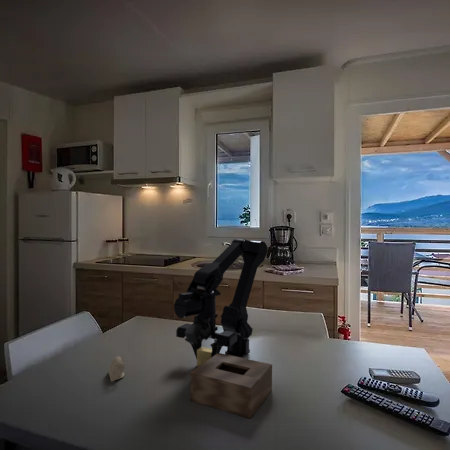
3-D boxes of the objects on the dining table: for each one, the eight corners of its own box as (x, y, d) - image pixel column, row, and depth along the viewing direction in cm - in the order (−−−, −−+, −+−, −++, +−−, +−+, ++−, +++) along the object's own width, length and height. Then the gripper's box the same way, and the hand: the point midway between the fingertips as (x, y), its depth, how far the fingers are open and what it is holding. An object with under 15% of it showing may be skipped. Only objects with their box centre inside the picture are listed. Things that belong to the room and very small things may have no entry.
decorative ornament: (122, 369, 100) (122, 351, 100) (126, 381, 92) (126, 362, 92) (108, 371, 98) (108, 353, 98) (111, 384, 90) (111, 364, 90)
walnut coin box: (190, 400, 82) (190, 372, 82) (218, 377, 95) (218, 352, 95) (250, 418, 75) (250, 387, 75) (271, 391, 87) (272, 364, 87)
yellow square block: (196, 365, 103) (196, 349, 103) (201, 362, 105) (201, 346, 105) (210, 369, 100) (211, 352, 100) (215, 366, 102) (215, 349, 102)
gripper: (165, 313, 100) (164, 366, 100) (220, 322, 91) (220, 380, 91) (186, 305, 109) (186, 353, 110) (238, 313, 101) (237, 364, 101)
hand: (205, 362), depth 102 cm, fingers closed on yellow square block, 5 cm apart
